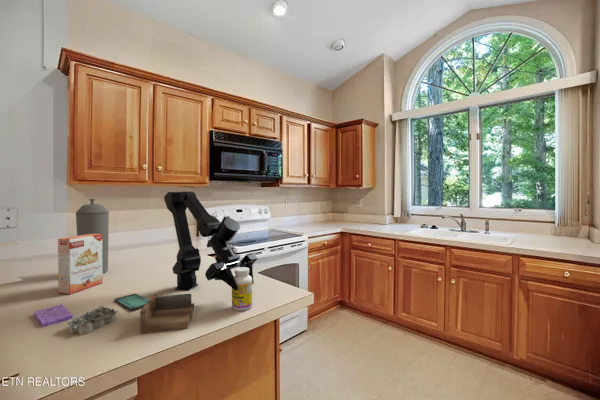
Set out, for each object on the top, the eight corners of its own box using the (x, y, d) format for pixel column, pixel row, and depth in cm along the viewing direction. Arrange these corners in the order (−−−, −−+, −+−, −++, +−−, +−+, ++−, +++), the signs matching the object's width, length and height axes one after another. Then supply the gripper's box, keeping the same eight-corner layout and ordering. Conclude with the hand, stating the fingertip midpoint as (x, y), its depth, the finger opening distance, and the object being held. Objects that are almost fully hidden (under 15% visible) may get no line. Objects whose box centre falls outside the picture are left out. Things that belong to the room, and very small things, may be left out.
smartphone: (135, 292, 104) (154, 302, 95) (135, 296, 105) (154, 305, 95) (113, 298, 99) (130, 309, 89) (113, 302, 99) (130, 313, 89)
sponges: (62, 309, 93) (62, 303, 93) (73, 320, 85) (73, 314, 85) (33, 316, 87) (33, 310, 87) (42, 329, 80) (42, 322, 79)
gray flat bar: (157, 308, 87) (157, 296, 87) (191, 305, 89) (191, 293, 89) (156, 310, 86) (156, 297, 86) (191, 307, 88) (190, 294, 88)
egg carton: (83, 337, 75) (82, 322, 74) (64, 332, 77) (63, 318, 77) (120, 319, 85) (120, 306, 85) (102, 316, 87) (102, 303, 87)
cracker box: (70, 295, 104) (69, 239, 104) (57, 293, 106) (56, 238, 105) (104, 283, 118) (103, 233, 117) (92, 282, 119) (91, 233, 119)
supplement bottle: (227, 309, 92) (227, 270, 91) (240, 302, 98) (240, 265, 97) (243, 313, 89) (243, 272, 88) (256, 305, 95) (256, 267, 94)
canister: (115, 271, 135) (113, 198, 134) (83, 278, 124) (82, 199, 123) (102, 267, 141) (101, 198, 140) (72, 274, 131) (70, 198, 130)
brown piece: (154, 313, 89) (153, 294, 89) (194, 309, 92) (193, 291, 91) (140, 333, 76) (140, 311, 76) (187, 328, 79) (187, 307, 79)
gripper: (232, 258, 109) (253, 292, 103) (189, 268, 94) (210, 309, 88) (246, 240, 105) (269, 274, 98) (203, 248, 89) (226, 289, 83)
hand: (245, 286), depth 92 cm, fingers closed on supplement bottle, 7 cm apart
